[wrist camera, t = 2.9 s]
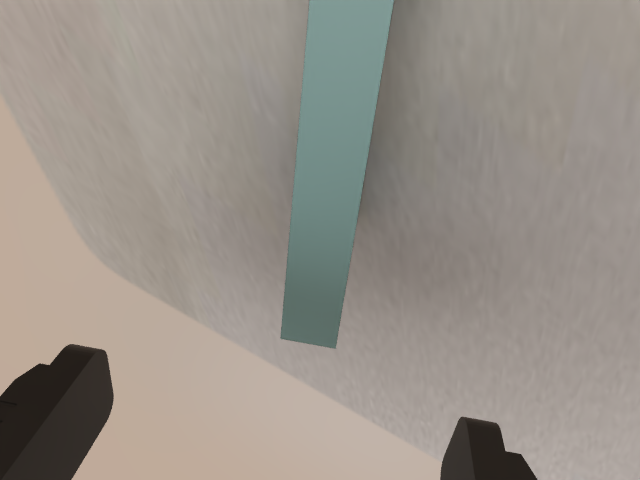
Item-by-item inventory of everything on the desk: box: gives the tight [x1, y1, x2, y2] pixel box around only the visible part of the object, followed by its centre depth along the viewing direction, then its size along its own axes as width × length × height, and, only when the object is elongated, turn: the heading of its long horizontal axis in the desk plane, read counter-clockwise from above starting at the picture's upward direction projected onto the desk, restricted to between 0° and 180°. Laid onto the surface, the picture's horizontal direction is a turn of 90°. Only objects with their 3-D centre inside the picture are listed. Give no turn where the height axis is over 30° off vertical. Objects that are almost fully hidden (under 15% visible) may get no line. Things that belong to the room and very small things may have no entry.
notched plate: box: [281, 0, 394, 349], centre depth 18 cm, size 2×14×10 cm, turn 174°
